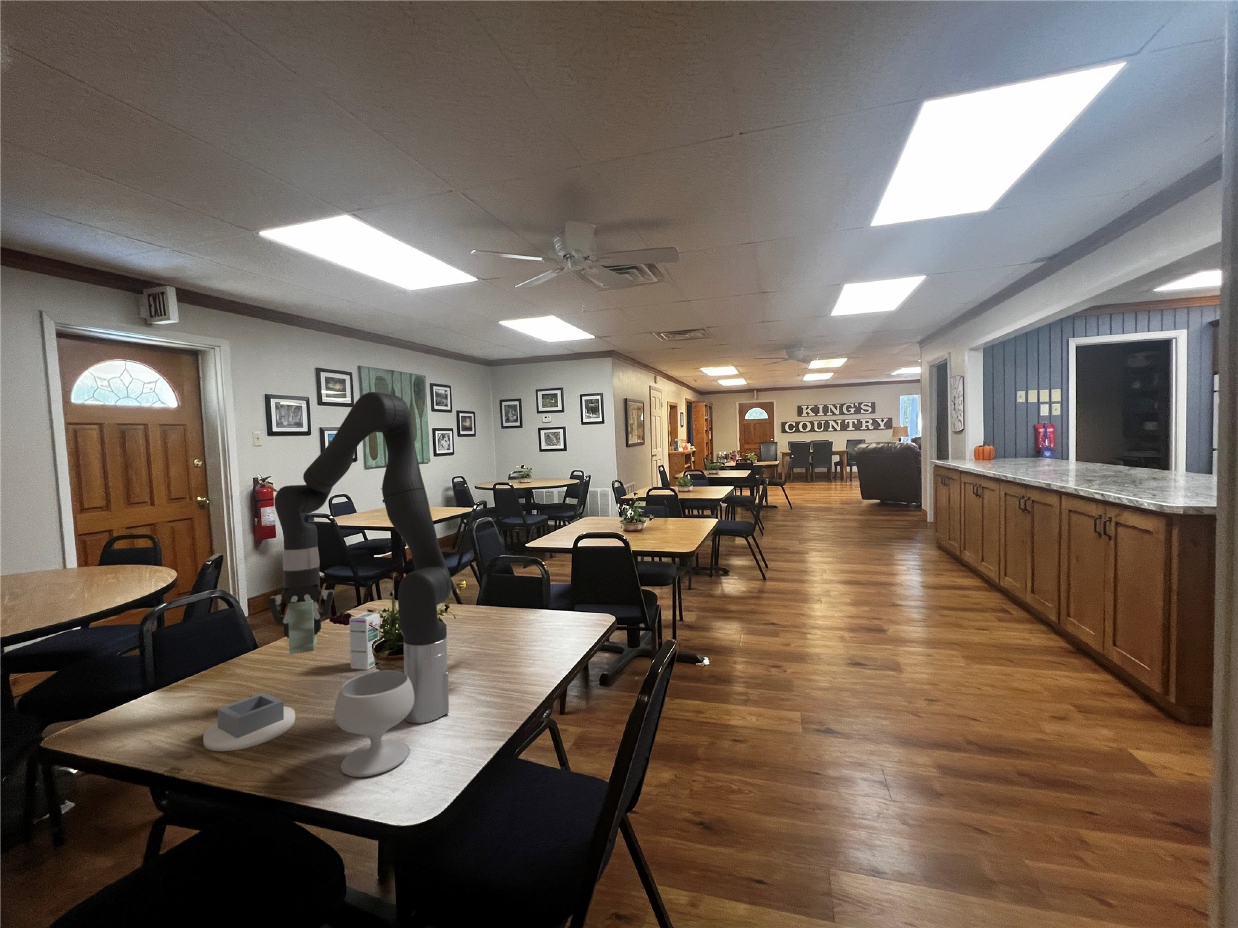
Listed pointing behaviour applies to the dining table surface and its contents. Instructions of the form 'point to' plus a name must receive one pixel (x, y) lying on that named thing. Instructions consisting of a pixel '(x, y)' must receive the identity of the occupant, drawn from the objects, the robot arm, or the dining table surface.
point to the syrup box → (363, 639)
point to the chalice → (374, 719)
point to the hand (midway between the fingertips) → (303, 635)
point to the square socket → (249, 723)
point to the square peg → (301, 627)
